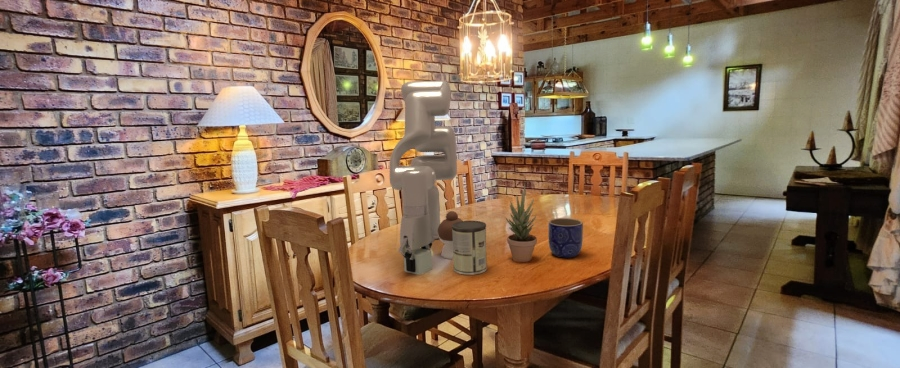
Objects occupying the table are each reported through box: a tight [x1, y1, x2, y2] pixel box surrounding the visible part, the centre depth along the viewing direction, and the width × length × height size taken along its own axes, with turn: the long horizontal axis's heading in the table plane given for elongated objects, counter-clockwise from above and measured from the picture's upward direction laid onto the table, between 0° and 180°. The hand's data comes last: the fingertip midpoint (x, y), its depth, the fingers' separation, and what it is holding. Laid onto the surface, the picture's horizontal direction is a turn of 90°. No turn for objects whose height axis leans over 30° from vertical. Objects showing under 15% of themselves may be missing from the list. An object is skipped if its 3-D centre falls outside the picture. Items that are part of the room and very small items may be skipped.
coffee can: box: [452, 220, 488, 276], centre depth 137 cm, size 10×10×14 cm
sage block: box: [403, 248, 433, 276], centre depth 138 cm, size 6×6×6 cm
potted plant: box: [505, 183, 538, 263], centre depth 145 cm, size 10×10×25 cm
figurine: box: [438, 210, 463, 260], centre depth 152 cm, size 10×9×15 cm
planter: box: [547, 217, 584, 259], centre depth 149 cm, size 11×11×11 cm
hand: (418, 267), depth 139 cm, fingers closed on sage block, 6 cm apart
